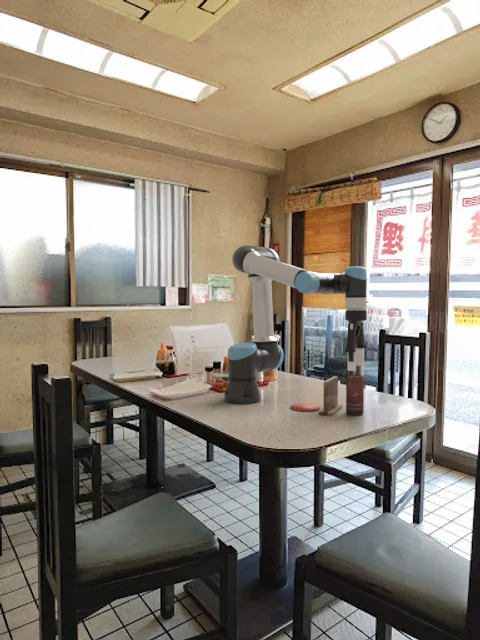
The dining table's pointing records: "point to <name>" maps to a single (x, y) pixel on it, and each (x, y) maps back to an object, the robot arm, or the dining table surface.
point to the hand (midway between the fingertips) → (356, 368)
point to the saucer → (305, 407)
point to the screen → (330, 397)
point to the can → (354, 394)
